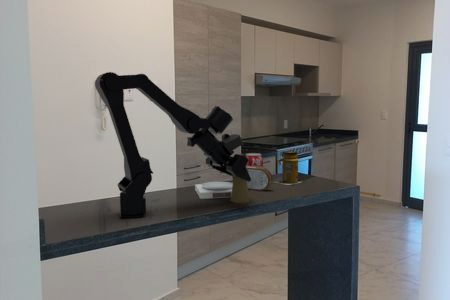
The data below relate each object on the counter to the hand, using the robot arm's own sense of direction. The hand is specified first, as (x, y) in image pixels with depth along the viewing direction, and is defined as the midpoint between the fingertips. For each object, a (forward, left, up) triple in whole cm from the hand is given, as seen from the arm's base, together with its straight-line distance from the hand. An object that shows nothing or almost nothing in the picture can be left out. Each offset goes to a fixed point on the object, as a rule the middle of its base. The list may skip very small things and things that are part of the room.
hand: (242, 178), depth 130 cm
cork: (-1, 0, -7) cm, 7 cm away
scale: (-6, +12, -7) cm, 15 cm away
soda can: (+9, +21, -7) cm, 24 cm away
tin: (+7, +16, -7) cm, 19 cm away
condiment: (+24, +25, -7) cm, 35 cm away
